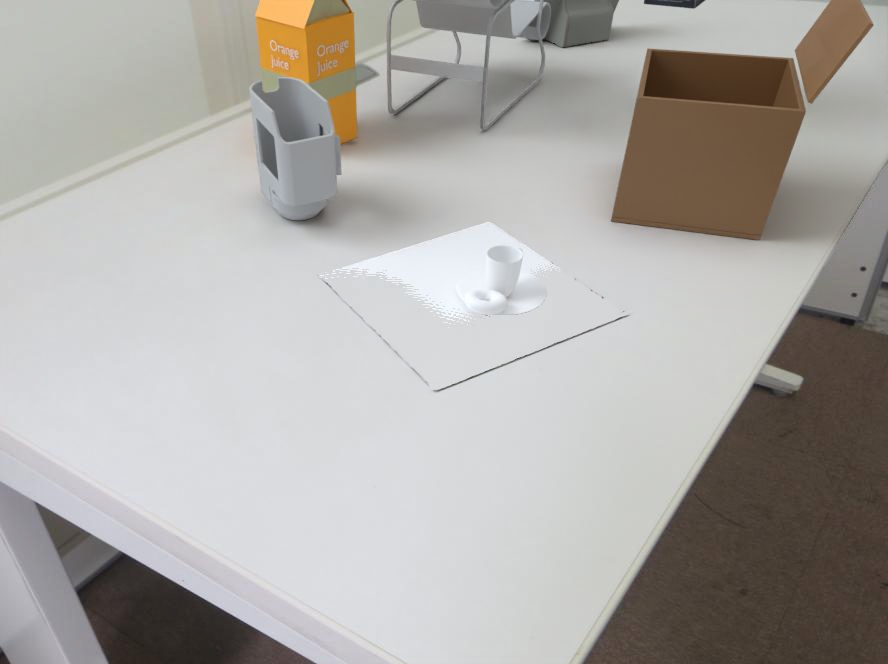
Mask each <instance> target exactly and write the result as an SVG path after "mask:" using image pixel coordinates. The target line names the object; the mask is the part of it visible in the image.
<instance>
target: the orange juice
mask: <svg viewBox="0 0 888 664" xmlns="http://www.w3.org/2000/svg"><path fill="white" fill-rule="evenodd" d="M254 16H255V22H256V31H257V32H256V33H257V42H258V51H259V59H260V73H261V74H260V76H261V81H262V87H263V91H265V92H267V91H272V90H276V89H277V88H278V77H291V78H297V79H300V80H302V81H304V82H305V83H306V84H308V85H309V86H310V87H311V88H312V89H314V90H315V91H316V92H317V93H318V94H320V95H321V96H322V97H323V98H324V99H326V100H327V101H328V103H329V107H330V111H331V116H332V120H333V124H334V132H335V135H338V136H340V145H342V144H345V143H347V142H349V141H351V140H354V139H357V138H358V117H357V116H358V115H357V67H356V45H355V44H356V42H355V12H354V11H352V9H351V7H350V5H349V3H348V1H347V0H259V2H258V4H257V9H256V10H255V14H254Z"/></svg>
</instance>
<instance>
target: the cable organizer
mask: <svg viewBox="0 0 888 664" xmlns="http://www.w3.org/2000/svg"><path fill="white" fill-rule="evenodd" d="M248 92H249V100H250V107H251V117H252V126H253V134H254V144H255V151H256V159H257V168H258V176H259V186H260V192H261V194H262V195H263V196H264V197H265V199H267V201H268V203H269V204H270V205H271V206H272V207H273V209H274V210H275V211H276V212H277V213H278V214H279V215H280V216H281V217H283V218H285V219H287V220H290V221H306V220H309V219H312V218H314V217H317V215H318V214H320V213H321V211H322V210H323V209H324V208H325V207H326V205H327V204H328V200H329V199H333V198H335V197H336V196H337V194H338V178H337V176H342V150H341V144H340V136H338V135H335V132H334V124H333V120H332V116H331V111H330V107H329V103H328V101H327V100H326V99H324V98H323V97H322V96H321V95H320V94H318V93H317V92H316V91H315V90H314V89H312V88H311V87H310V86H309V85H308V84H306V83H305V82H304V81H302V80H300V79H297V78H291V77H278V88H277V89H276V90H272V91H267V92H265V91H264V90H263V84H262V79H259V80H257V81H255V82H253V83H252V84H250V86H249V88H248Z"/></svg>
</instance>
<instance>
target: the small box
mask: <svg viewBox="0 0 888 664" xmlns="http://www.w3.org/2000/svg"><path fill="white" fill-rule="evenodd" d="M705 2H706V0H643V4H644V5H650V6H661V7H673V8H683V9H691V10H692V9H693V10H695V9H696V8H698V7H699V6H700V5H701V4H703V3H705Z"/></svg>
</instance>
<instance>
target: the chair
mask: <svg viewBox="0 0 888 664" xmlns="http://www.w3.org/2000/svg"><path fill="white" fill-rule="evenodd" d="M403 1H404V0H394V1H392V3H391V4H390V5H389V8H388V10H387V16H386V87H387V90H386V91H387V111H388V113H389V114H390V115H396V114H398V113H399V112H400V111H402V110H403V109H404V108H406V107H407V106H409V105H410V104H411V103H412V102H414V101H415V100H416V99H419V97H421V96H422V95H423V94H424V93H427V92H428V91H429V90H431V88H433V87H434V86H436V85H438V84H439V83H440V82H441V81H442V80H444V79H445V78H448V79H454V80H460V81H467V82H474V83H482V89H481V105H480V106H481V107H480V120H479V121H480V122H479V127H480V129H481V130H482V131H487V130H489V128H490V127H492V126H493V124H495V123H496V122H497V121H498V120H499V119H500V118H501V117H502V116H503V115H505V114H506V113H507V112H508V111H509V110H510V109H511V108H512V107H513V106H515V104H517V103H518V102H519V101H520V100H521V99H522V98H523V97H524V96H525V95H526V94H527V93H528V92H529V91H531V90H532V89H533V88H534V87H535V86H536V85H537V84H538V83H539V82H540V81H541V79H542V76H543V74H544V69H545V67H546V66H545V65H546V52H545V47H544V42H543V40H544V39H543V38H544V37H545V35H546V33H547V30H548V27H549V23H550V17H551V6H550V4H549V3H547V2H544V0H540V2H537V1H534V0H413V1H415V3H416V4H415V5H416V8H417V14H418V20H419V25H420V27H421V28H424V29H429V30H438V31H447V32H452V34H453V37H454V39H455V43H456V56H455V60H454V62H447V61H441V60H440V61H439V60H434V59H433V60H432V59H425V58H418V57H410V56H404V55H397V54H392V18H393V13H394V10H395V8H396V7H397V6H398V5H399V4H400V3H402V2H403ZM458 33H463V34H470V35H480V36H485V37H486V38H485V46H484V47H485V48H484V62H483V66H476V65H469V64H468V65H467V64H461V63H460V61H461V56H462V45H461V41H460V39H459V35H458ZM492 37H495V38H503V39H513V40H515V39H517V38H520V39H521V38H522V39H526V38H529V39H537V40H536V41H538V44H539V49H540V55H541V57H540V58H541V59H540V67H539V70H538V74H537V76H536V78H535V79H534V80H533V81H532V82H531V83H530V84H528V85H527V86H526V87H524V89H523V90H522V91H521V92H520V93H518V94H517V95H516V96H515V97H514V98H513V99H512V100H511V101H509V103H508V104H506V105H505V106H503V108H502V109H501V110H500V111H499V112H497V113H496V115H494V116H493V117H492V118H491V119H490V120H488V121H487V123H486V122H485V120H486V119H485V118H486V103H487V102H486V101H487V89H488V88H487V87H488V72H489V71H488V70H489V62H490V49H491V48H490V47H491V38H492ZM392 70H394V71H400V72H407V73H414V74H420V75H426V76H435V77H437V78H435V79H434V80H432V81H431V82H430V83H428V84H427V85H425V86H424V87H423V88H421V89H420V90H418V91H417V92H416V93H414V94H413V95H412V96H410V97H409V98H408V99H406V100H405V101H404V102H402V103H401V104H399V105H398V106H397V107H395V108H393V102H392V101H393V100H392V99H393V98H392V96H393V95H392Z"/></svg>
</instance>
